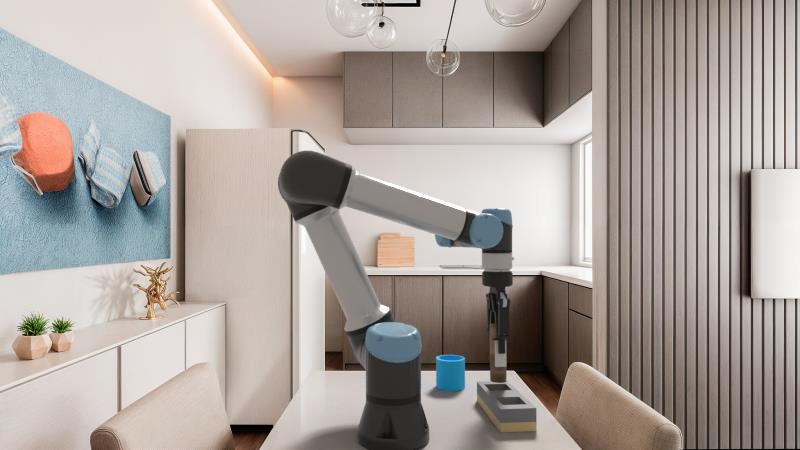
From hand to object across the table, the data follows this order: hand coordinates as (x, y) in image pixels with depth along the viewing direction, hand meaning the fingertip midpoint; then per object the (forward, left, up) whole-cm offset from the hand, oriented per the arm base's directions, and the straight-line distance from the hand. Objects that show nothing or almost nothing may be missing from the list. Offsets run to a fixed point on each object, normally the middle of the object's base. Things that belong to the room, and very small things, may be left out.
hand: (498, 363), depth 132 cm
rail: (-3, -5, -11) cm, 12 cm away
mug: (+3, +22, -11) cm, 25 cm away
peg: (0, 0, -4) cm, 4 cm away
